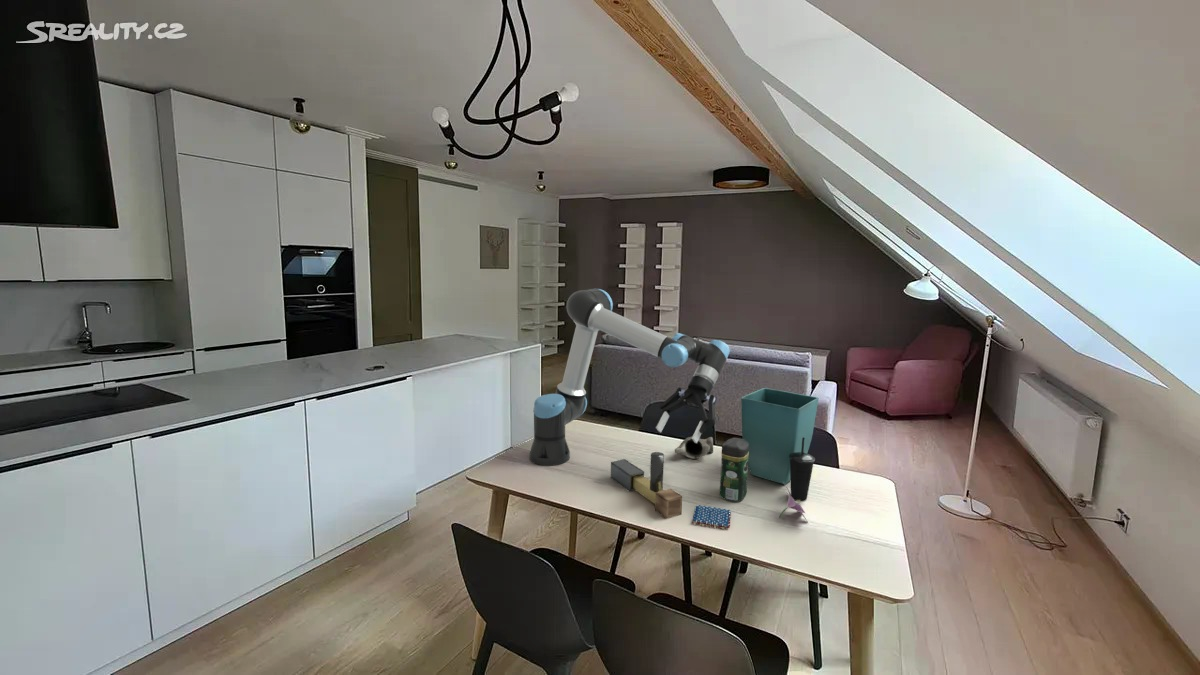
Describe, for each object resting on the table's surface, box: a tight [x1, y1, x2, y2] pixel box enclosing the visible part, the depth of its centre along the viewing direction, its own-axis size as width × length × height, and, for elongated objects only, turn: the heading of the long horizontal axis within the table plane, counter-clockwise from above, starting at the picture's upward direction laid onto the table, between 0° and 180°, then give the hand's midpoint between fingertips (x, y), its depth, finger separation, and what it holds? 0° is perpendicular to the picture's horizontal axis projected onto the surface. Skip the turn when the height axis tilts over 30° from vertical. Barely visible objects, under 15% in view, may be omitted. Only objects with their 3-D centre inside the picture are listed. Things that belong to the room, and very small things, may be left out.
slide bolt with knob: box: [631, 451, 665, 505], centre depth 160 cm, size 23×4×15 cm, turn 30°
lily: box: [778, 481, 808, 522], centre depth 151 cm, size 12×12×10 cm
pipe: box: [674, 436, 714, 460], centre depth 197 cm, size 16×9×15 cm
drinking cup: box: [789, 437, 816, 502], centre depth 163 cm, size 8×8×20 cm
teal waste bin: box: [740, 387, 819, 485], centre depth 179 cm, size 20×20×28 cm
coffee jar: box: [719, 437, 749, 502], centre depth 163 cm, size 10×8×19 cm
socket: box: [654, 488, 683, 520], centre depth 153 cm, size 6×6×6 cm
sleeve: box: [610, 458, 645, 493], centre depth 172 cm, size 12×6×6 cm, turn 30°
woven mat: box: [691, 504, 732, 531], centre depth 150 cm, size 10×11×2 cm
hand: (675, 435), depth 162 cm, fingers open, 13 cm apart
